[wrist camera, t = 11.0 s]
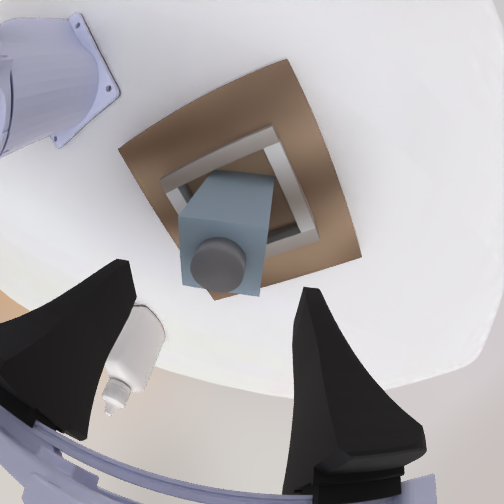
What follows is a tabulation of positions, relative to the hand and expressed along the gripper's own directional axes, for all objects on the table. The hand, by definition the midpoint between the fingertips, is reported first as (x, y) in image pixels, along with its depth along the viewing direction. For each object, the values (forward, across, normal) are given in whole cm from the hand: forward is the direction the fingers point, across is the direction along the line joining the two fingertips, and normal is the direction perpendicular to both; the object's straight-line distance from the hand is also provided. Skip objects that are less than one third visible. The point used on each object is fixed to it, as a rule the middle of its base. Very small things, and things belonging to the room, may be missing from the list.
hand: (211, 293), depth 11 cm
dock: (+10, 0, 0) cm, 10 cm away
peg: (+9, 0, 0) cm, 9 cm away
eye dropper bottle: (+11, +10, +16) cm, 22 cm away
